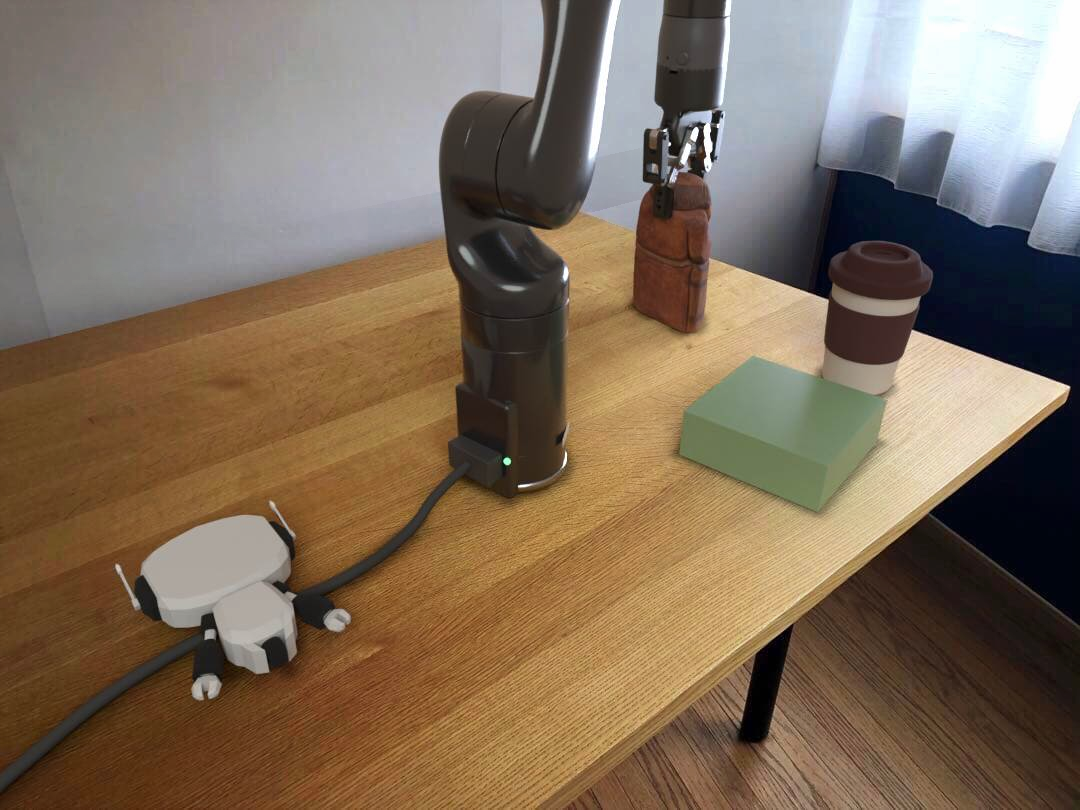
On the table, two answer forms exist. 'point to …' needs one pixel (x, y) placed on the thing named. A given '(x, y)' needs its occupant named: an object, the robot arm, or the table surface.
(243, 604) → the robot toy
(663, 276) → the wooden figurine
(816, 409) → the green block
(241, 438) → the table surface
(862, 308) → the coffee cup
